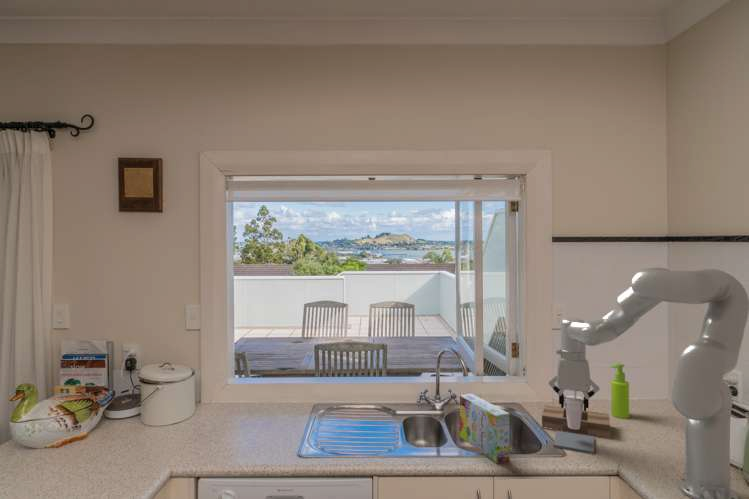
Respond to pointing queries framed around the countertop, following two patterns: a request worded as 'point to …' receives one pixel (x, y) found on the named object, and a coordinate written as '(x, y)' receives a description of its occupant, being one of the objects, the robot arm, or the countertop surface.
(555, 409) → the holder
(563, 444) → the mat
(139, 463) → the countertop surface
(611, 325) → the robot arm
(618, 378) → the soap dispenser
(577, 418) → the smoothie
